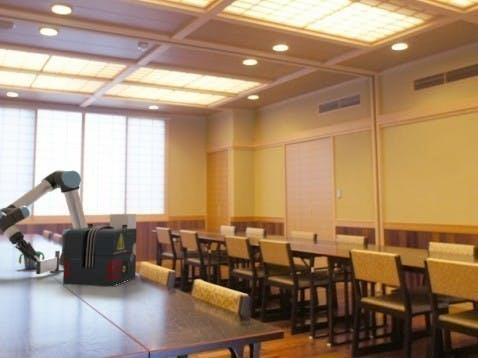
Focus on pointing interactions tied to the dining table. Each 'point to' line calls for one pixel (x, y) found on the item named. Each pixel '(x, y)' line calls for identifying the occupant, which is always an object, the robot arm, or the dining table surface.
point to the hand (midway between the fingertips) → (41, 265)
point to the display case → (123, 222)
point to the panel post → (57, 254)
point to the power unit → (99, 255)
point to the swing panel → (46, 265)
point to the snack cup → (30, 263)
